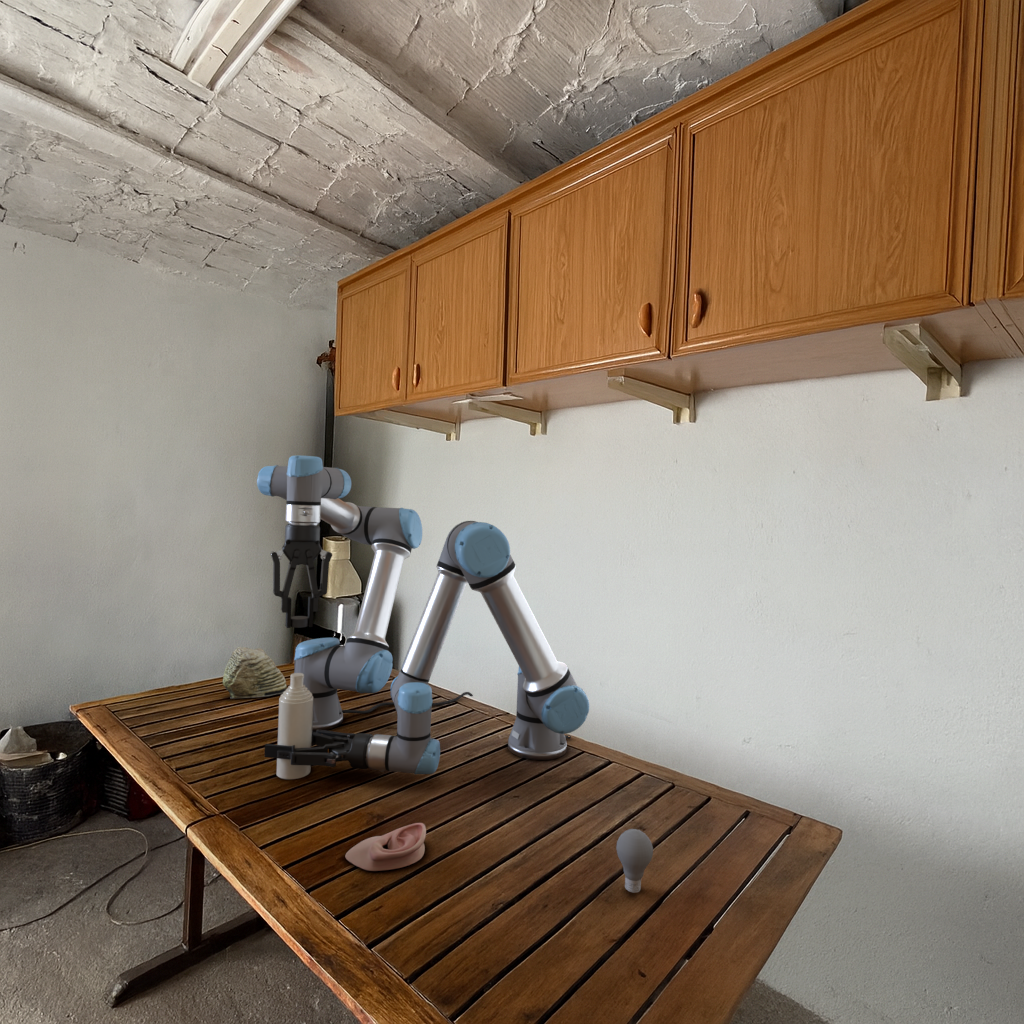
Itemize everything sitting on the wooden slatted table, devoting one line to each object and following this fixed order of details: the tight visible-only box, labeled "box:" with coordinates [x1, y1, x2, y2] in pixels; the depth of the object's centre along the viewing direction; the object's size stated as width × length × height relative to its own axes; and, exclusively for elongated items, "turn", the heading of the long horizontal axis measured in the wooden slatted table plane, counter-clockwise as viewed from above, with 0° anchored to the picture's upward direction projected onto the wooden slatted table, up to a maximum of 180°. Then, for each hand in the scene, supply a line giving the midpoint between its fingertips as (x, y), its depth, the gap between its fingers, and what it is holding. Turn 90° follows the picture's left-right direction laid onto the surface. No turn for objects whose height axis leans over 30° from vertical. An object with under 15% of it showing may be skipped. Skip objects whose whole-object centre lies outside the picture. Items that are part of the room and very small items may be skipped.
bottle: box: [275, 672, 313, 780], centre depth 145 cm, size 7×7×22 cm
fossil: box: [222, 646, 288, 699], centre depth 198 cm, size 9×18×15 cm, turn 132°
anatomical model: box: [344, 822, 427, 872], centre depth 113 cm, size 13×4×12 cm
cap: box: [291, 615, 309, 629], centre depth 144 cm, size 4×4×2 cm
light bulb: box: [615, 828, 654, 894], centre depth 106 cm, size 6×6×10 cm
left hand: (299, 626), depth 144 cm, fingers closed on cap, 4 cm apart
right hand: (274, 743), depth 145 cm, fingers closed on bottle, 7 cm apart
